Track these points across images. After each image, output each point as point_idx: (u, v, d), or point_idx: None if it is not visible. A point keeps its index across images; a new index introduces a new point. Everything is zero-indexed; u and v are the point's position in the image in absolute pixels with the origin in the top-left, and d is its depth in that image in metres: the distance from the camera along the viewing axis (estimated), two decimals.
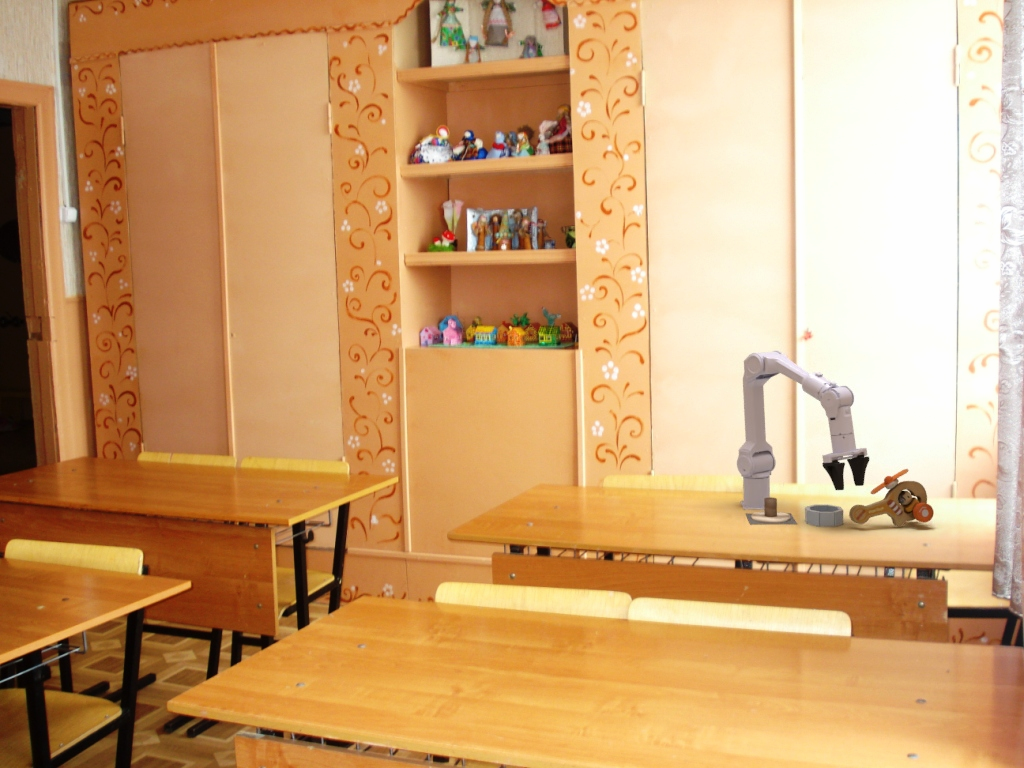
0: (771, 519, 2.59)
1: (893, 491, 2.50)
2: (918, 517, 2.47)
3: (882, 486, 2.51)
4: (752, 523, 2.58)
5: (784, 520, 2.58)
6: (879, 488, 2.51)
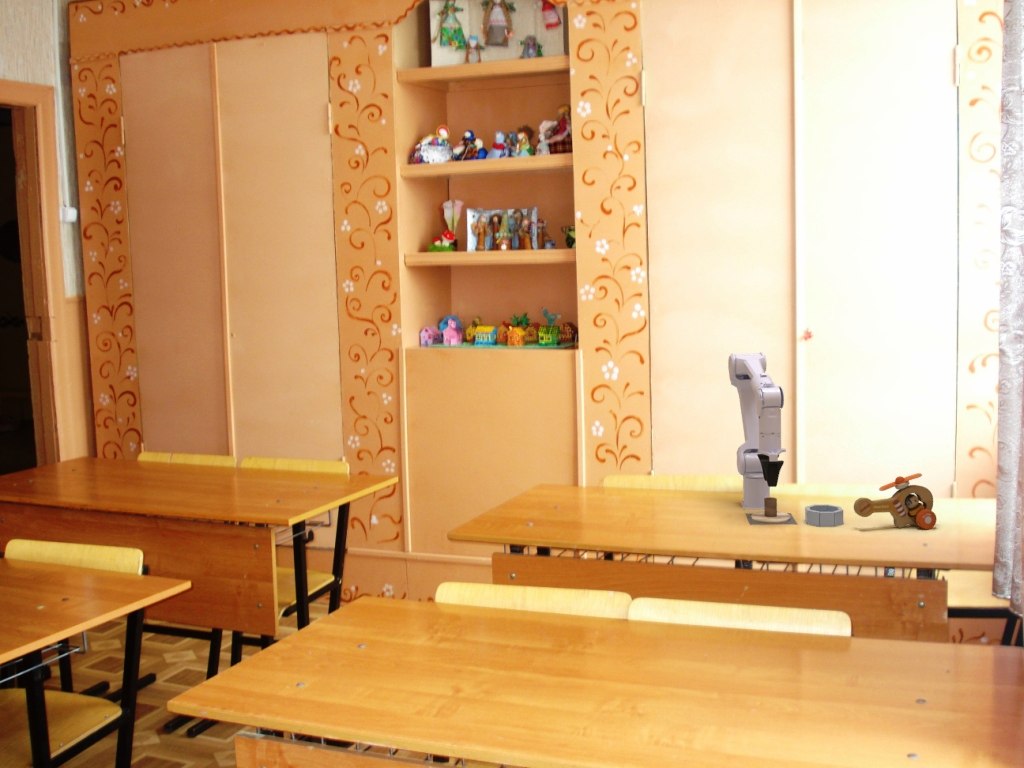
0: (771, 519, 2.59)
1: (902, 492, 2.49)
2: (920, 522, 2.47)
3: (891, 485, 2.50)
4: (752, 523, 2.58)
5: (784, 520, 2.58)
6: (889, 486, 2.50)
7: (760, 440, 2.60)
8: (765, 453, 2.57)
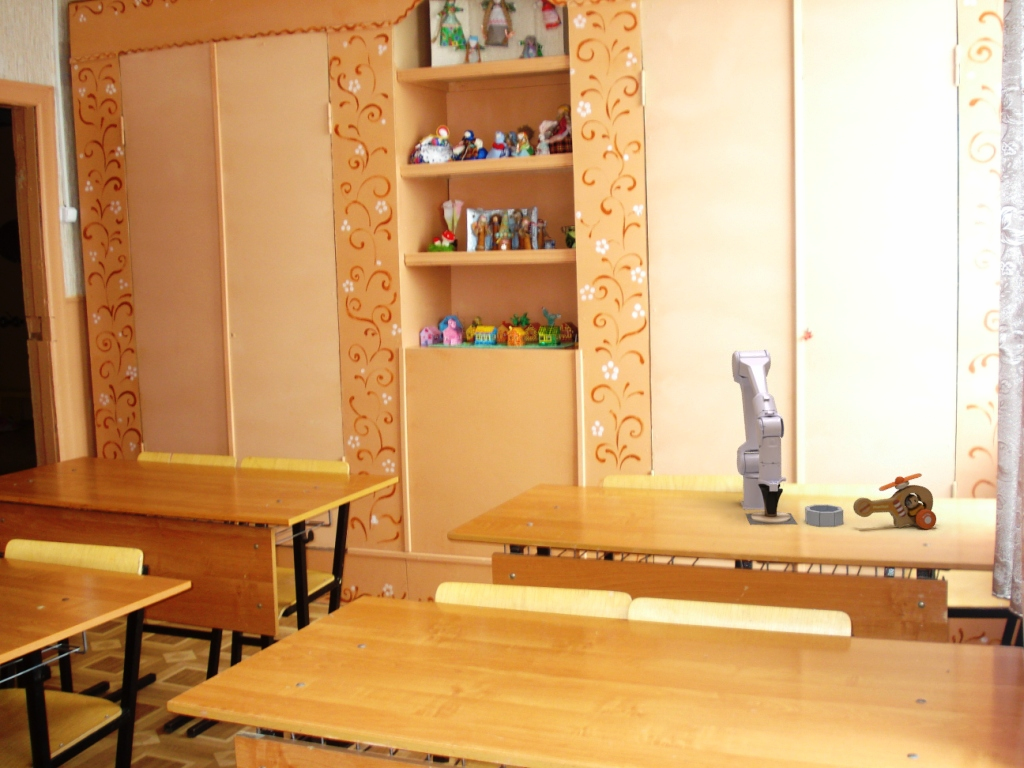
0: (771, 519, 2.59)
1: (901, 492, 2.49)
2: (920, 522, 2.47)
3: (891, 485, 2.50)
4: (752, 523, 2.58)
5: (784, 520, 2.58)
6: (889, 486, 2.50)
7: (760, 469, 2.60)
8: (765, 483, 2.58)
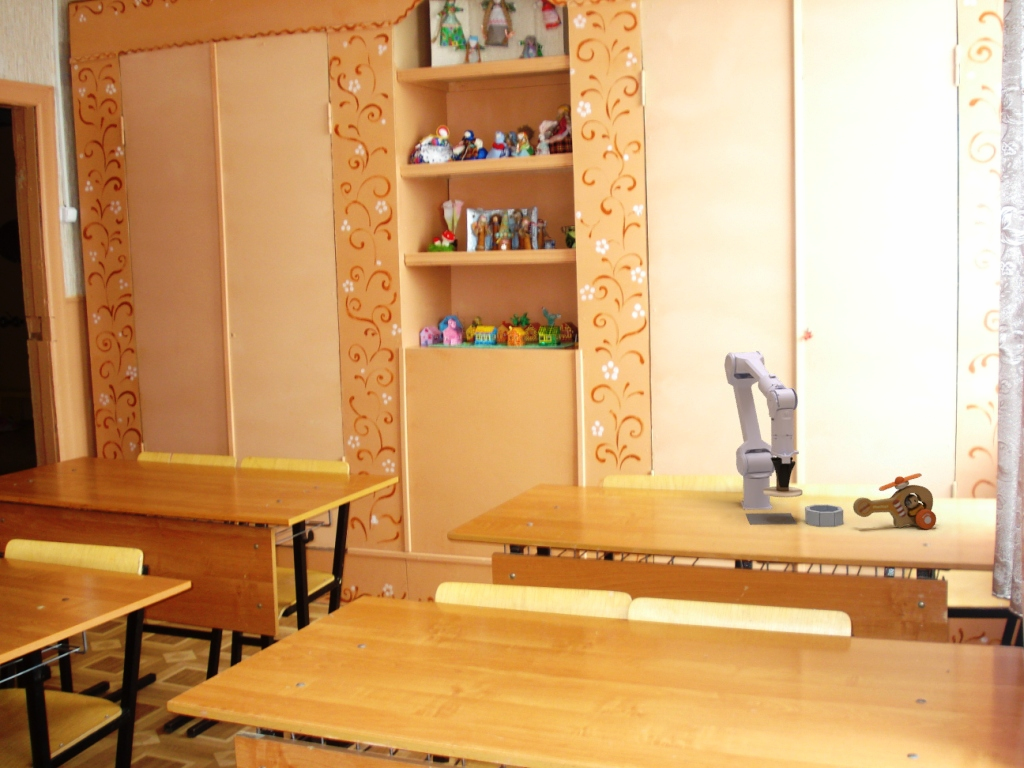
0: (783, 493, 2.56)
1: (901, 492, 2.49)
2: (920, 522, 2.47)
3: (891, 485, 2.50)
4: (752, 523, 2.58)
5: (796, 494, 2.56)
6: (889, 486, 2.50)
7: (773, 442, 2.58)
8: (778, 455, 2.55)
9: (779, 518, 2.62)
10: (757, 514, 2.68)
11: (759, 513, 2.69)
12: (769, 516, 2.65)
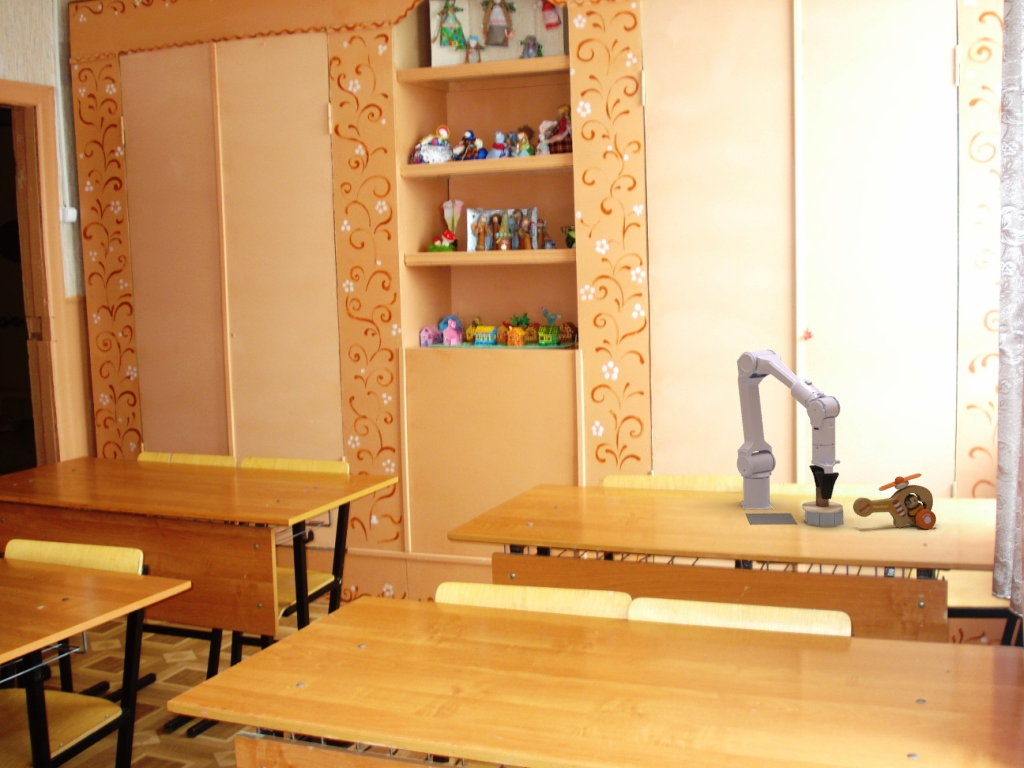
0: (823, 509, 2.53)
1: (901, 492, 2.49)
2: (920, 522, 2.47)
3: (891, 485, 2.50)
4: (752, 523, 2.58)
5: (837, 510, 2.52)
6: (888, 486, 2.50)
7: (814, 451, 2.54)
8: (819, 465, 2.51)
9: (779, 518, 2.62)
10: (757, 514, 2.68)
11: (759, 513, 2.69)
12: (769, 516, 2.65)
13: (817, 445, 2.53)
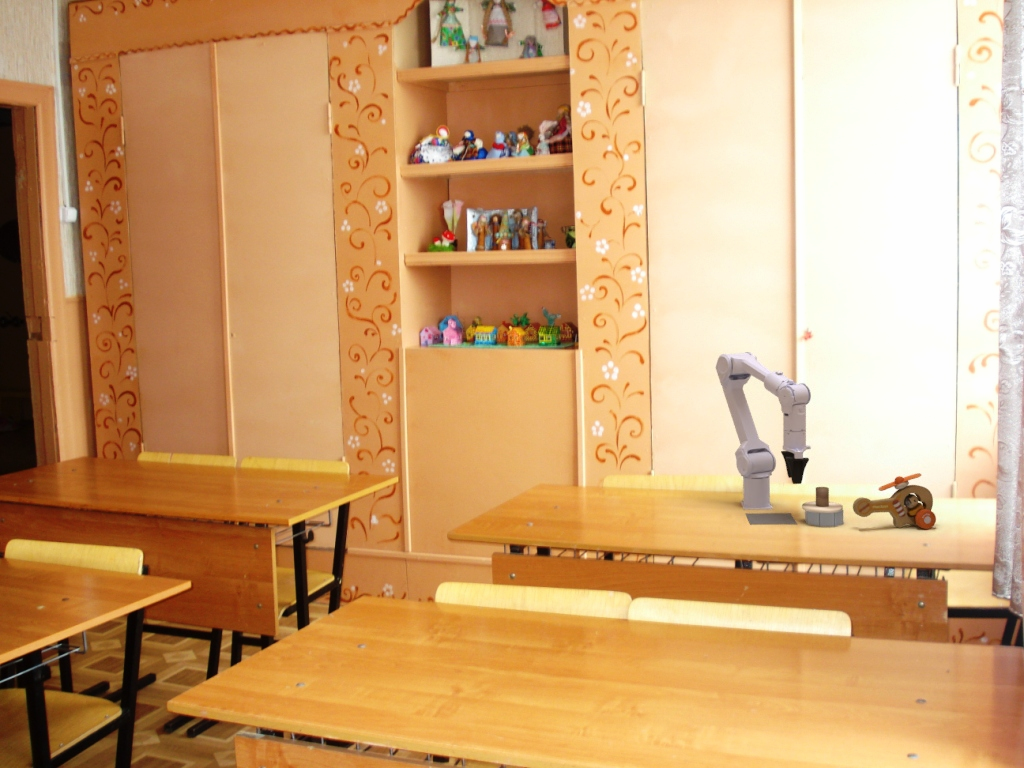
0: (823, 509, 2.53)
1: (901, 492, 2.49)
2: (920, 522, 2.47)
3: (891, 485, 2.51)
4: (752, 523, 2.58)
5: (837, 510, 2.52)
6: (888, 486, 2.51)
7: (785, 437, 2.60)
8: (790, 450, 2.57)
9: (779, 518, 2.62)
10: (757, 514, 2.68)
11: (759, 513, 2.69)
12: (769, 516, 2.65)
13: (788, 431, 2.59)
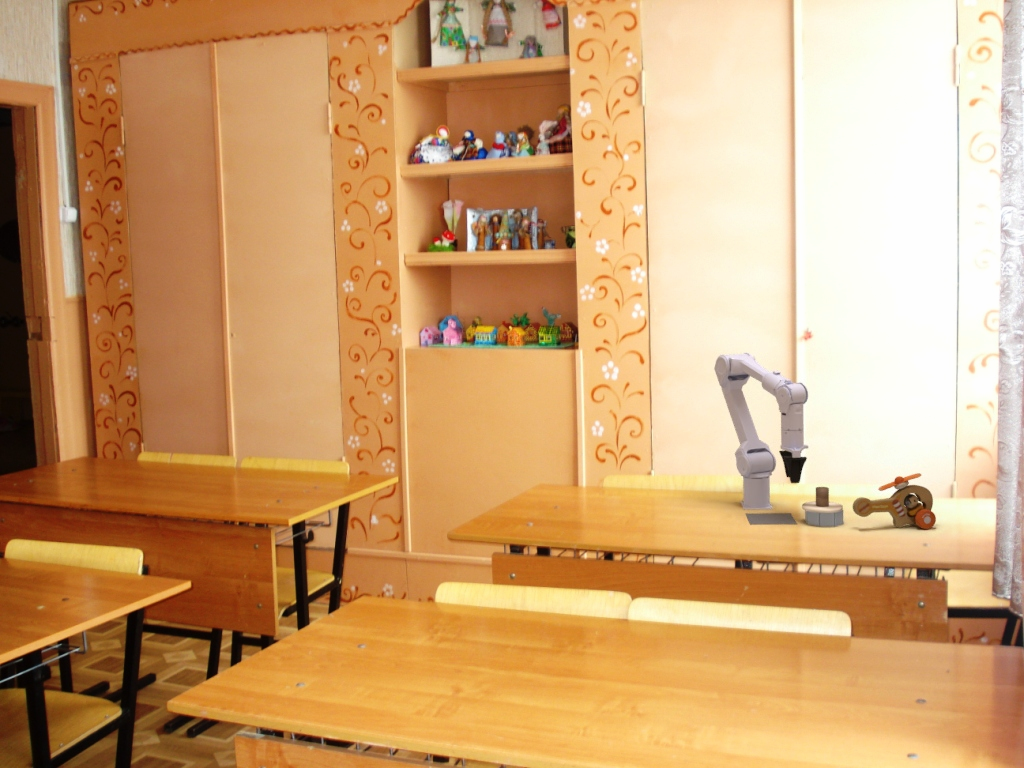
0: (823, 509, 2.53)
1: (901, 492, 2.49)
2: (919, 522, 2.47)
3: (891, 484, 2.51)
4: (752, 523, 2.58)
5: (837, 510, 2.52)
6: (888, 486, 2.51)
7: (783, 436, 2.61)
8: (788, 449, 2.58)
9: (779, 518, 2.62)
10: (757, 514, 2.68)
11: (759, 513, 2.69)
12: (769, 516, 2.65)
13: (786, 430, 2.59)
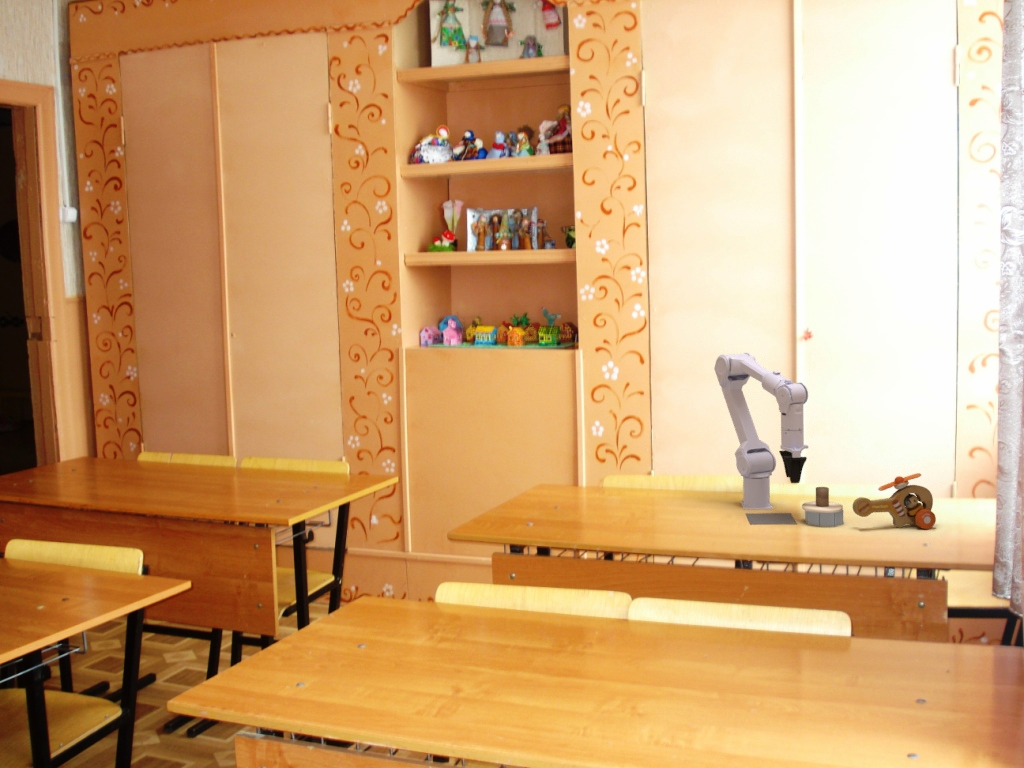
0: (823, 509, 2.53)
1: (901, 492, 2.49)
2: (919, 522, 2.47)
3: (891, 484, 2.51)
4: (752, 523, 2.58)
5: (837, 510, 2.52)
6: (888, 486, 2.51)
7: (783, 436, 2.61)
8: (788, 449, 2.58)
9: (779, 518, 2.62)
10: (757, 514, 2.68)
11: (759, 513, 2.69)
12: (769, 516, 2.65)
13: (786, 430, 2.59)
